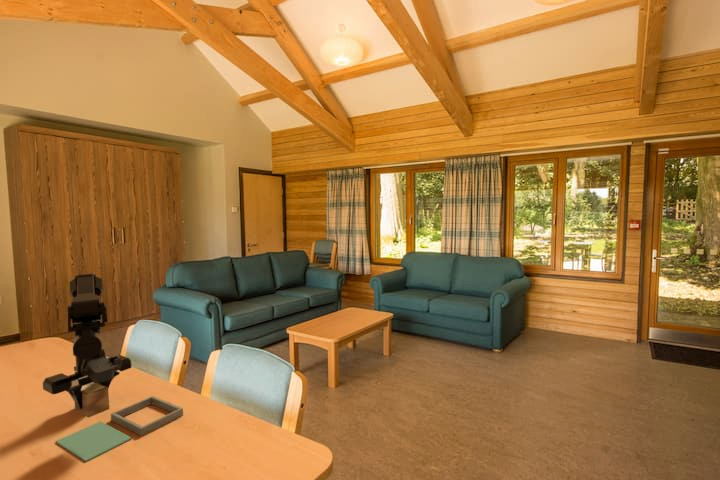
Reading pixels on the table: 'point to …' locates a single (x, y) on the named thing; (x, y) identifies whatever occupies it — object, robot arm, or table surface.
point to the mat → (93, 441)
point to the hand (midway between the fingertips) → (91, 404)
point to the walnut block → (93, 399)
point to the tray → (140, 430)
